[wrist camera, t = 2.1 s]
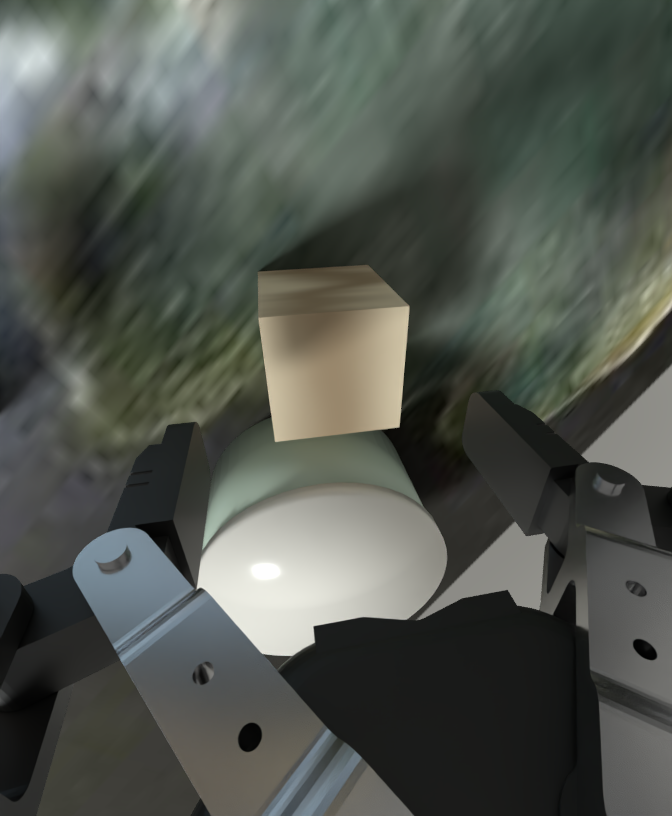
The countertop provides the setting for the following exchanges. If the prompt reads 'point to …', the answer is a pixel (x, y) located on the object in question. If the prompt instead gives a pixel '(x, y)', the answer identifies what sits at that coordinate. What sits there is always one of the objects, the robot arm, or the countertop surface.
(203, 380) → the countertop surface
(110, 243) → the countertop surface
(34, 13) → the countertop surface
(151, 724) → the countertop surface
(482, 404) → the robot arm
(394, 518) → the round lidded container
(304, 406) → the beech block
